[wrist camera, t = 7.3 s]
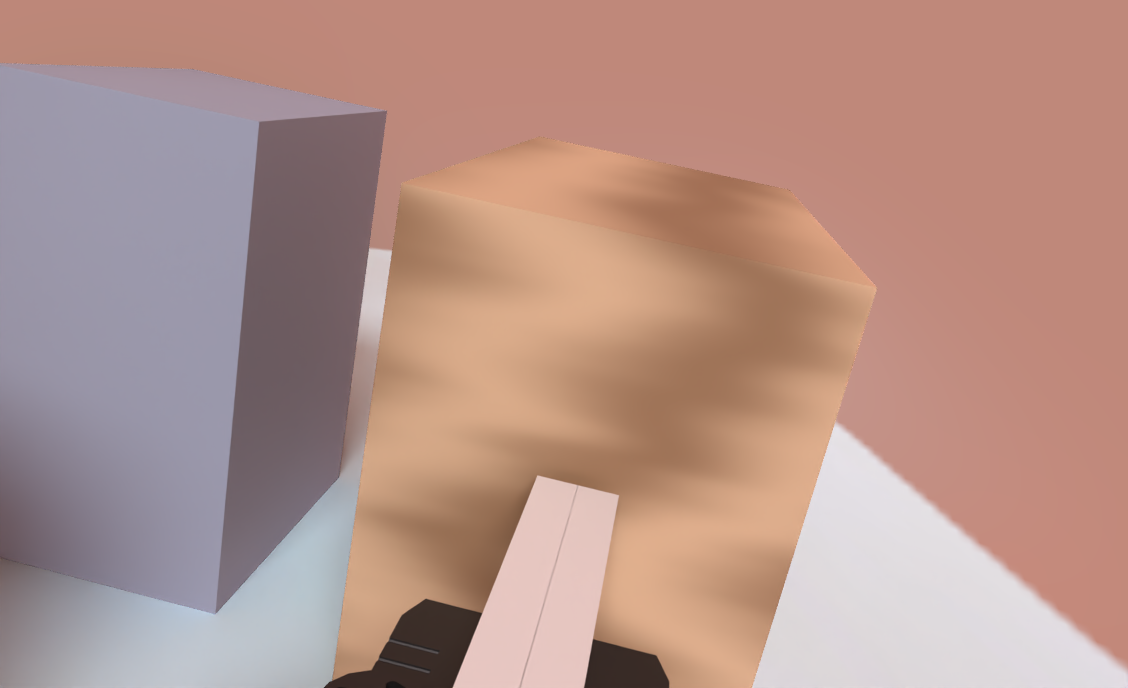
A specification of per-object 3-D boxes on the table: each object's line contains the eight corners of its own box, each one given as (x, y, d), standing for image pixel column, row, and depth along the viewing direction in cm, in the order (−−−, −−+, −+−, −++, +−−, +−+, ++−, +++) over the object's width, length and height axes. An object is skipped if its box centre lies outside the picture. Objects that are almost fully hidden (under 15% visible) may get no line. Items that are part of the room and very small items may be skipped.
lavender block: (-10, 554, 22) (-11, 63, 19) (169, 435, 30) (193, 68, 26) (214, 614, 22) (259, 121, 18) (338, 477, 29) (386, 110, 26)
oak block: (322, 751, 19) (401, 182, 15) (478, 472, 32) (539, 136, 28) (699, 855, 18) (877, 288, 14) (697, 526, 31) (789, 190, 28)
